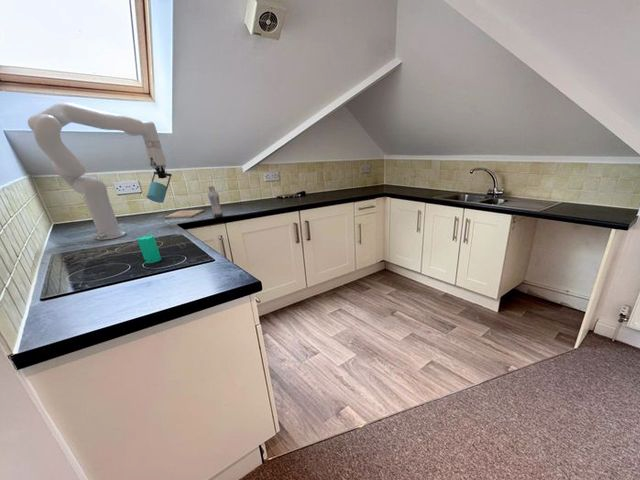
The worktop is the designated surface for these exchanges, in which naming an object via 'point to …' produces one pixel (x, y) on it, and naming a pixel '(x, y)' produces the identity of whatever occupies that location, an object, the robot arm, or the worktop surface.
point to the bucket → (158, 190)
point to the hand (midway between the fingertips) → (162, 177)
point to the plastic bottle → (215, 202)
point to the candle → (149, 248)
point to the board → (184, 214)
